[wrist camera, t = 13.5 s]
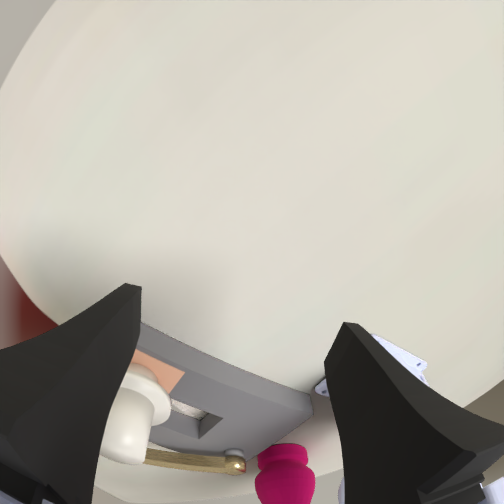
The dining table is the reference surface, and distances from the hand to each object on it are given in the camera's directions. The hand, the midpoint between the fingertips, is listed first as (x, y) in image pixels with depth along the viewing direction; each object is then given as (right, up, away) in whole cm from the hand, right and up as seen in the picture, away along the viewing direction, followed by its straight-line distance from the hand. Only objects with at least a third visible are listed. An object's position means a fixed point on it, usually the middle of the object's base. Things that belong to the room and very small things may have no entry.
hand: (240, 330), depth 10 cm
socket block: (-6, -12, +17) cm, 21 cm away
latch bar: (-9, -19, +16) cm, 26 cm away
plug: (-9, -8, +12) cm, 17 cm away
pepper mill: (+4, -23, +22) cm, 32 cm away
